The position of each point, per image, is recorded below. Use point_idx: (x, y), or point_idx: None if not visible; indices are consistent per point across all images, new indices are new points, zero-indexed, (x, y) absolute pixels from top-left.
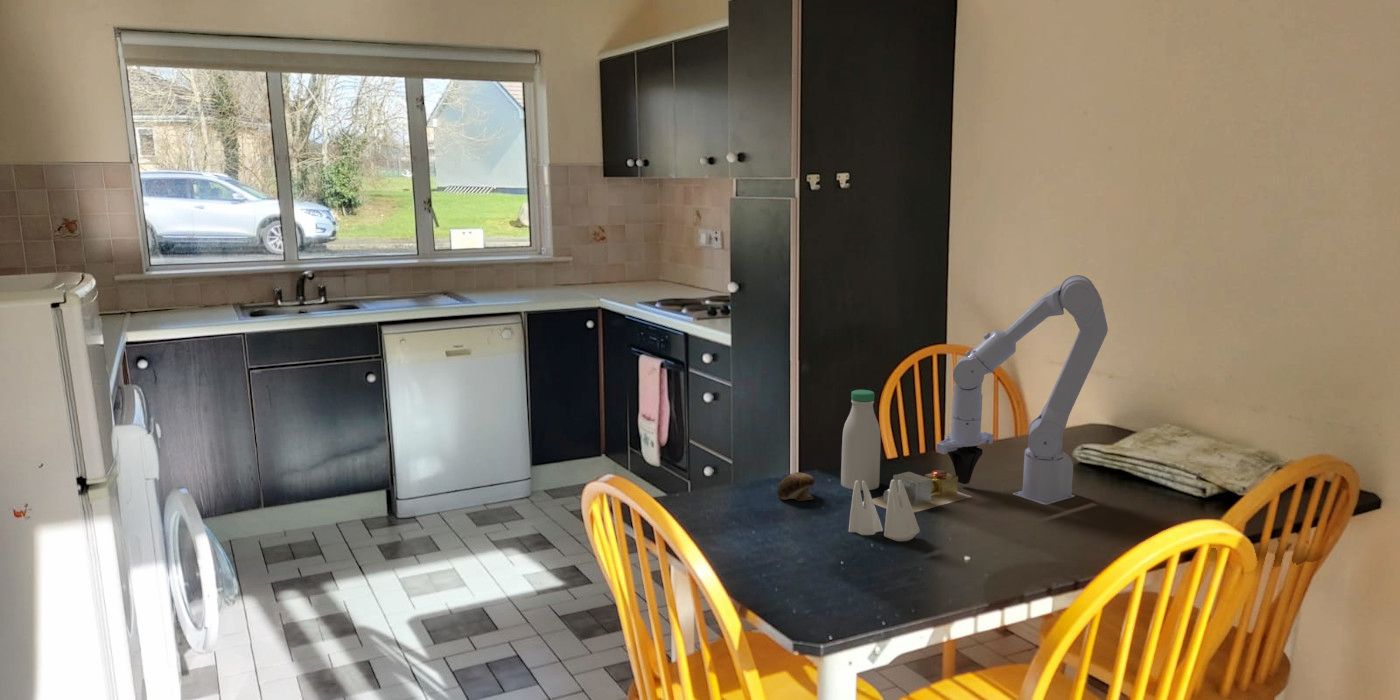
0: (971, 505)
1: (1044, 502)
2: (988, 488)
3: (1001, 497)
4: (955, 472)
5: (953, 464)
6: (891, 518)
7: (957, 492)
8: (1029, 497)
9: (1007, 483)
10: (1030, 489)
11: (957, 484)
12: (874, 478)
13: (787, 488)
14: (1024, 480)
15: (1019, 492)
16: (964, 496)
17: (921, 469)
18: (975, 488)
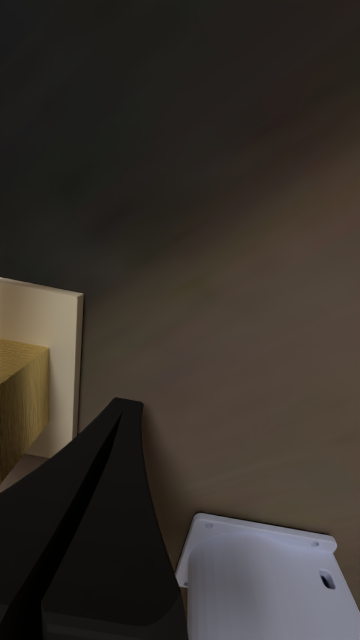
0: (33, 469)
1: (186, 581)
2: (220, 441)
3: (166, 494)
4: (89, 424)
5: (52, 458)
6: None
7: (63, 415)
8: (189, 559)
9: (319, 459)
10: (188, 596)
11: (22, 454)
12: None
13: None
14: (205, 613)
15: (221, 527)
16: (49, 446)
17: (294, 50)
18: (188, 414)
